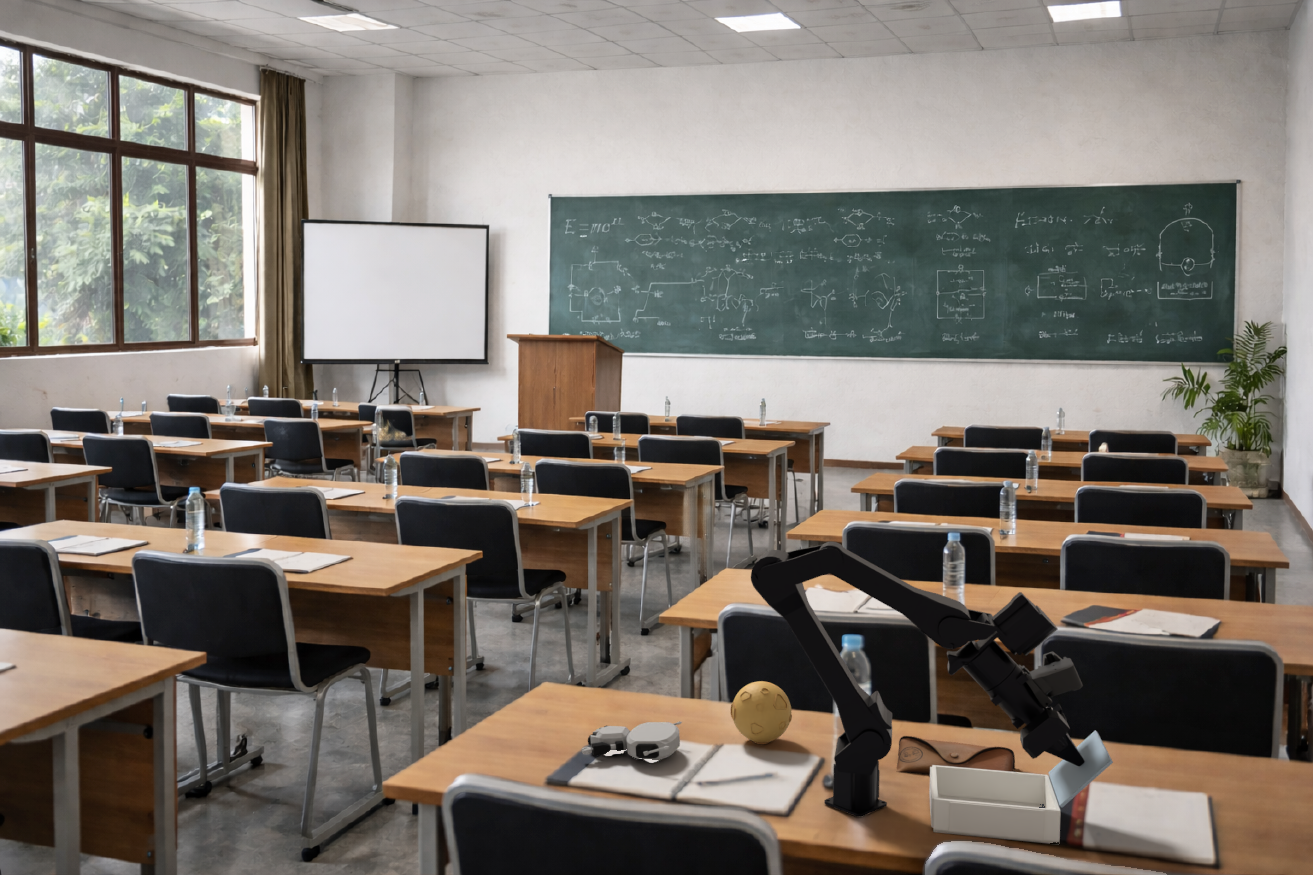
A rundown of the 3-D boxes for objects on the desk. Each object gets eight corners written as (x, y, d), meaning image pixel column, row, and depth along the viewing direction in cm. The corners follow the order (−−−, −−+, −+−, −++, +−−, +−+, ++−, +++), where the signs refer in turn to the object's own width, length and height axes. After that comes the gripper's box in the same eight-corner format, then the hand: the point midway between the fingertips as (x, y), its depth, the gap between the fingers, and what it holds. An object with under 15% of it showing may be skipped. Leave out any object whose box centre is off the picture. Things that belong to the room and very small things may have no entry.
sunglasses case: (892, 772, 169) (895, 728, 172) (895, 780, 175) (898, 738, 178) (1016, 786, 163) (1016, 741, 166) (1014, 794, 169) (1015, 751, 172)
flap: (1059, 805, 144) (1110, 759, 142) (1048, 772, 156) (1095, 730, 154) (1061, 807, 144) (1113, 762, 142) (1050, 774, 156) (1097, 732, 154)
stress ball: (748, 735, 188) (710, 704, 184) (786, 691, 189) (749, 660, 185) (774, 764, 179) (734, 733, 175) (813, 718, 180) (774, 685, 175)
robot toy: (579, 771, 171) (673, 771, 168) (577, 742, 171) (671, 742, 168) (598, 744, 183) (686, 744, 180) (596, 717, 183) (684, 717, 180)
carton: (931, 832, 147) (932, 799, 147) (929, 793, 160) (929, 763, 160) (1059, 845, 144) (1060, 811, 143) (1046, 804, 157) (1047, 773, 157)
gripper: (1054, 656, 140) (1143, 749, 138) (1037, 623, 158) (1116, 705, 156) (987, 711, 142) (1074, 804, 140) (978, 672, 160) (1055, 753, 158)
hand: (1081, 763), depth 149 cm, fingers closed
